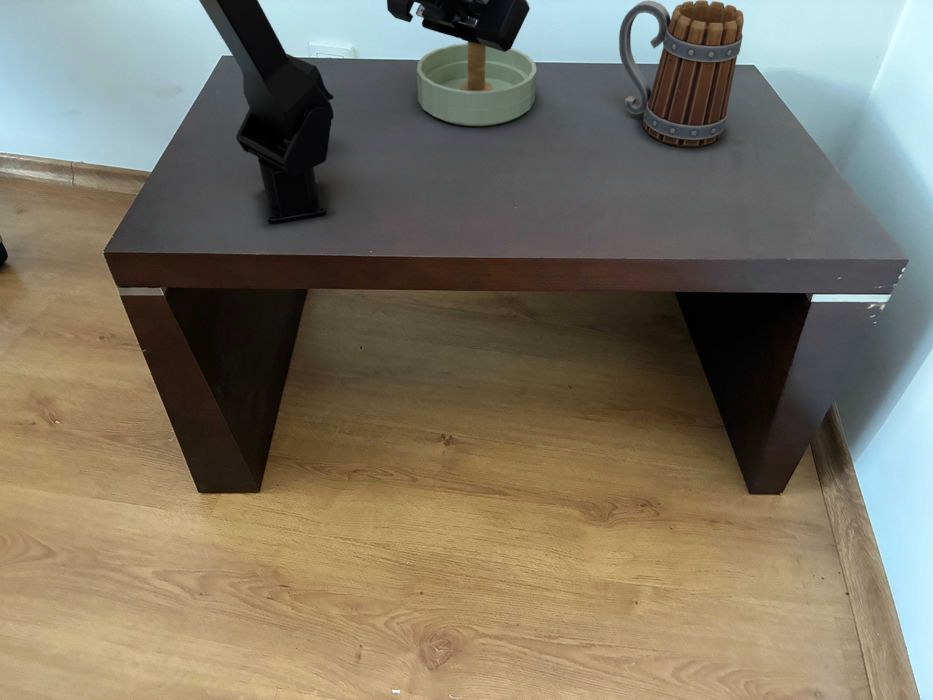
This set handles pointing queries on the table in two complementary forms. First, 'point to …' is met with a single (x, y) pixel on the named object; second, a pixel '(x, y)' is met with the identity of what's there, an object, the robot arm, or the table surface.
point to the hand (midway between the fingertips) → (483, 40)
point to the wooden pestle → (476, 69)
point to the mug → (686, 70)
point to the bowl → (476, 108)
